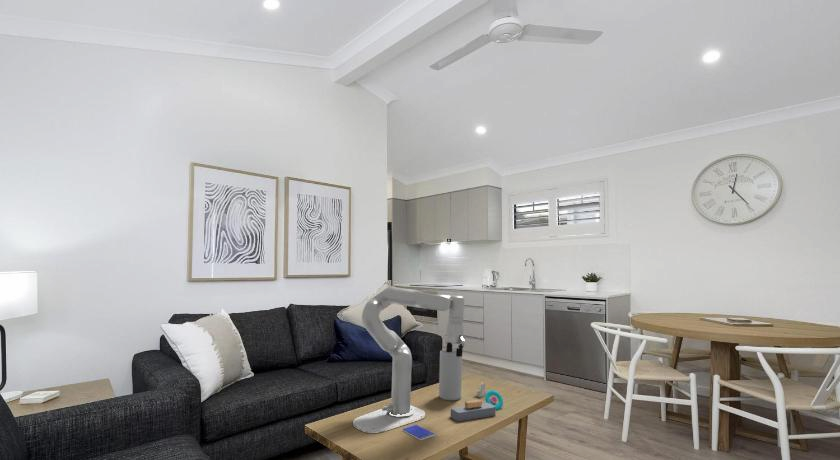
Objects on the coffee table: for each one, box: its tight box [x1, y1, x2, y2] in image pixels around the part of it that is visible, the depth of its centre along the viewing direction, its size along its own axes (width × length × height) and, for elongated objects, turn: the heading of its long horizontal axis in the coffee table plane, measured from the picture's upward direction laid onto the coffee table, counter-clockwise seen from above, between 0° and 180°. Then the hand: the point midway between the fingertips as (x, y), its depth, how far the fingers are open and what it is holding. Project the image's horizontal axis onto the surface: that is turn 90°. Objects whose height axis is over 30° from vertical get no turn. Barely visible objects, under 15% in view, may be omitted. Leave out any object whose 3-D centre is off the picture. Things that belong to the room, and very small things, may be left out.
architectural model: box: [475, 382, 486, 398], centre depth 242 cm, size 3×7×7 cm, turn 146°
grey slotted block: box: [450, 402, 497, 423], centre depth 209 cm, size 22×7×4 cm, turn 117°
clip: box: [464, 399, 483, 410], centre depth 209 cm, size 8×3×6 cm, turn 118°
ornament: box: [484, 390, 504, 411], centre depth 223 cm, size 11×4×10 cm
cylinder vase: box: [438, 349, 463, 401], centre depth 237 cm, size 12×12×25 cm
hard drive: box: [402, 424, 436, 441], centre depth 186 cm, size 2×8×12 cm
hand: (454, 354), depth 213 cm, fingers open, 9 cm apart
